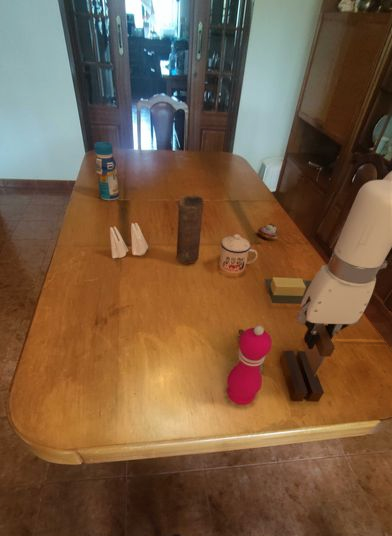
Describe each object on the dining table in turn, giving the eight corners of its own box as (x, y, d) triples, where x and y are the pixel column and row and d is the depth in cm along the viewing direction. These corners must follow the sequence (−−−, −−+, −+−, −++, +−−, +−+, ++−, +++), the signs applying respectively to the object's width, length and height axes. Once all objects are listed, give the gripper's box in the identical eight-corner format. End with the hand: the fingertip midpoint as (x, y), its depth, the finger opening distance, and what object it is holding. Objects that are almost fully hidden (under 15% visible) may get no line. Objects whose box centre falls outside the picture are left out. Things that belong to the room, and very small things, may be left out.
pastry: (281, 237, 122) (284, 225, 118) (268, 243, 118) (271, 230, 115) (265, 229, 126) (268, 217, 122) (252, 234, 122) (255, 221, 119)
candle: (202, 263, 105) (208, 202, 91) (183, 268, 102) (186, 206, 88) (190, 252, 110) (194, 192, 95) (172, 257, 107) (173, 196, 92)
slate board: (318, 284, 102) (320, 280, 101) (330, 307, 93) (332, 304, 92) (263, 282, 100) (264, 278, 99) (271, 306, 92) (272, 302, 91)
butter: (298, 287, 98) (302, 278, 95) (302, 296, 94) (306, 287, 92) (270, 286, 97) (272, 277, 95) (273, 295, 94) (275, 286, 91)
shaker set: (148, 251, 108) (146, 219, 100) (149, 258, 106) (147, 225, 98) (112, 252, 107) (108, 220, 99) (112, 258, 104) (107, 226, 96)
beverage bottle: (99, 193, 139) (91, 140, 125) (118, 193, 141) (113, 140, 127) (100, 201, 134) (92, 147, 119) (120, 200, 136) (115, 147, 121)
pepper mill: (217, 390, 70) (230, 323, 55) (240, 375, 73) (258, 308, 59) (241, 413, 66) (261, 347, 52) (263, 395, 70) (288, 329, 55)
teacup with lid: (218, 275, 101) (223, 241, 93) (217, 260, 107) (221, 227, 99) (255, 277, 102) (263, 244, 93) (252, 262, 108) (259, 229, 99)
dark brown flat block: (306, 341, 72) (319, 313, 66) (319, 376, 65) (335, 348, 59) (297, 341, 71) (309, 313, 65) (309, 376, 65) (324, 347, 59)
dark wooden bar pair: (303, 360, 78) (308, 351, 75) (318, 401, 70) (324, 392, 67) (279, 360, 77) (283, 350, 75) (291, 401, 69) (296, 392, 67)
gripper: (389, 255, 55) (345, 332, 68) (299, 251, 54) (273, 330, 67) (410, 281, 50) (358, 358, 63) (312, 277, 48) (280, 357, 62)
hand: (315, 344), depth 65 cm, fingers closed on dark brown flat block, 2 cm apart
